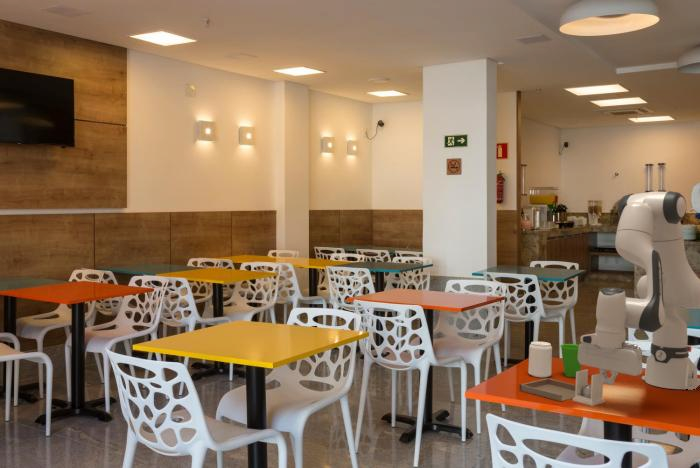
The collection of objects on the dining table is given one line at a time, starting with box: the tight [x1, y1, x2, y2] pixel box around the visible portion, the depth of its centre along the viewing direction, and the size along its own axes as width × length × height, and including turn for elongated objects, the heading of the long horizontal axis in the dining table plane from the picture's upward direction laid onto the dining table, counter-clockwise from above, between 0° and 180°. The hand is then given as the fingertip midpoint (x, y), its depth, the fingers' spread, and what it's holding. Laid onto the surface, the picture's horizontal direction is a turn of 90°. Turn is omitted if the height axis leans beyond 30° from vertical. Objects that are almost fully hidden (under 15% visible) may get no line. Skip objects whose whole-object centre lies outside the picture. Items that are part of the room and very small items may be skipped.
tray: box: [518, 377, 576, 402], centre depth 228 cm, size 16×16×2 cm
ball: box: [582, 384, 591, 398], centre depth 219 cm, size 4×4×4 cm
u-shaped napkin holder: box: [572, 369, 606, 407], centre depth 218 cm, size 7×7×10 cm
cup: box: [560, 343, 582, 378], centre depth 252 cm, size 9×9×11 cm
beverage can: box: [528, 340, 553, 379], centre depth 251 cm, size 8×8×12 cm
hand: (608, 383), depth 213 cm, fingers closed
